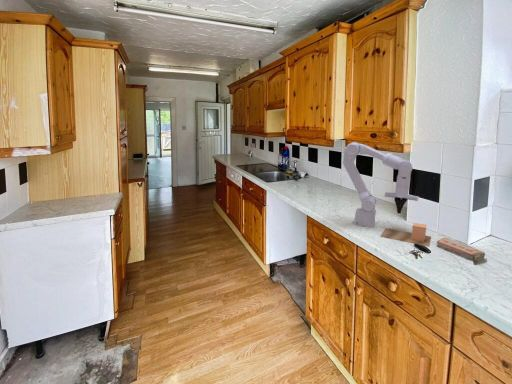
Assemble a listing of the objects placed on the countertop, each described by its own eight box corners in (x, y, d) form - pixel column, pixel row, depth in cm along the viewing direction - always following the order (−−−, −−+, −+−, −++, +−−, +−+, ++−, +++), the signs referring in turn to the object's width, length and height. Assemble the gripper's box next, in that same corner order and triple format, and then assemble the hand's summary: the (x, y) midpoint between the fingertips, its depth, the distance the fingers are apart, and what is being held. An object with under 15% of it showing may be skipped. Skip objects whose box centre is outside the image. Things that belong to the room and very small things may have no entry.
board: (379, 239, 140) (379, 236, 140) (385, 230, 151) (385, 227, 151) (429, 249, 130) (429, 246, 129) (430, 239, 141) (431, 236, 141)
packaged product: (490, 251, 118) (472, 254, 115) (487, 262, 119) (470, 266, 116) (447, 235, 134) (430, 237, 131) (445, 245, 136) (429, 248, 132)
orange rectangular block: (410, 239, 137) (412, 225, 135) (412, 236, 141) (414, 222, 140) (423, 242, 134) (426, 227, 133) (424, 238, 138) (426, 224, 137)
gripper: (384, 185, 146) (381, 212, 149) (418, 189, 138) (414, 217, 141) (387, 182, 151) (384, 209, 155) (420, 186, 144) (416, 214, 147)
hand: (399, 212), depth 148 cm, fingers closed
